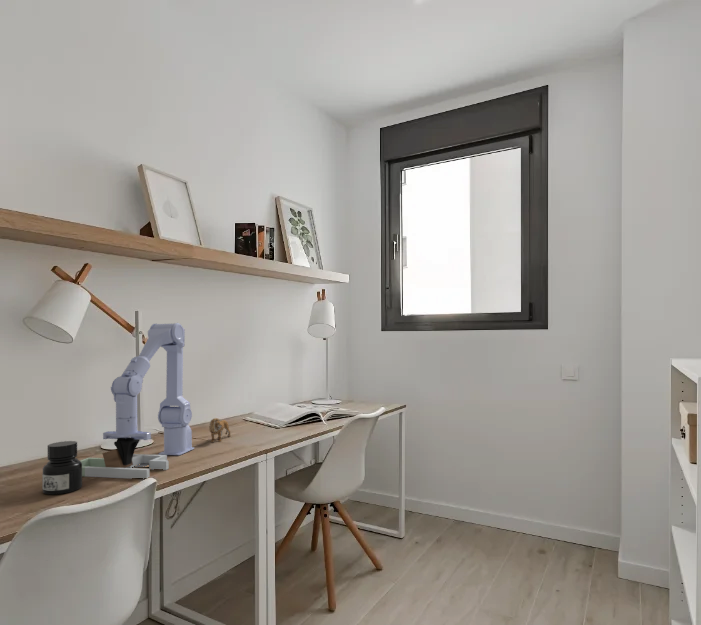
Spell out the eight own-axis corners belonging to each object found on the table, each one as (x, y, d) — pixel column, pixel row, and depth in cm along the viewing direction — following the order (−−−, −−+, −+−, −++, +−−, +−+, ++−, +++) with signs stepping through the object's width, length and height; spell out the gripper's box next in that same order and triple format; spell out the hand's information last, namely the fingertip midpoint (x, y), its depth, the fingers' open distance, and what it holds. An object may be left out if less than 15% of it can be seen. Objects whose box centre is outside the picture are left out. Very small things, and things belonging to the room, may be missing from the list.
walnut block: (120, 468, 149) (115, 449, 150) (133, 464, 148) (128, 445, 148) (107, 473, 144) (102, 453, 145) (120, 469, 143) (115, 449, 144)
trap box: (102, 460, 159) (102, 453, 160) (179, 463, 153) (179, 455, 153) (62, 475, 144) (62, 466, 144) (146, 479, 137) (146, 470, 137)
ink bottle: (33, 493, 127) (33, 446, 128) (64, 483, 135) (64, 439, 136) (60, 497, 124) (60, 448, 124) (90, 486, 132) (90, 441, 132)
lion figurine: (221, 443, 180) (220, 419, 180) (206, 444, 180) (206, 419, 181) (232, 435, 195) (232, 412, 195) (219, 435, 195) (218, 412, 195)
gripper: (95, 419, 143) (95, 467, 142) (139, 420, 140) (140, 468, 139) (112, 415, 150) (112, 460, 149) (155, 415, 147) (155, 462, 146)
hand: (127, 464), depth 145 cm, fingers closed
